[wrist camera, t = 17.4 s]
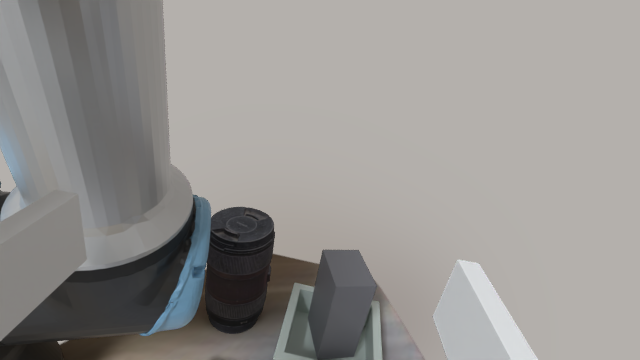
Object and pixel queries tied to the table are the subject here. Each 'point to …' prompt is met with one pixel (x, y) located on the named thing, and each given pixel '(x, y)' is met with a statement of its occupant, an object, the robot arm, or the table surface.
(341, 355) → the tall grey pillar
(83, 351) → the table surface
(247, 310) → the camera lens
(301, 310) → the bin
